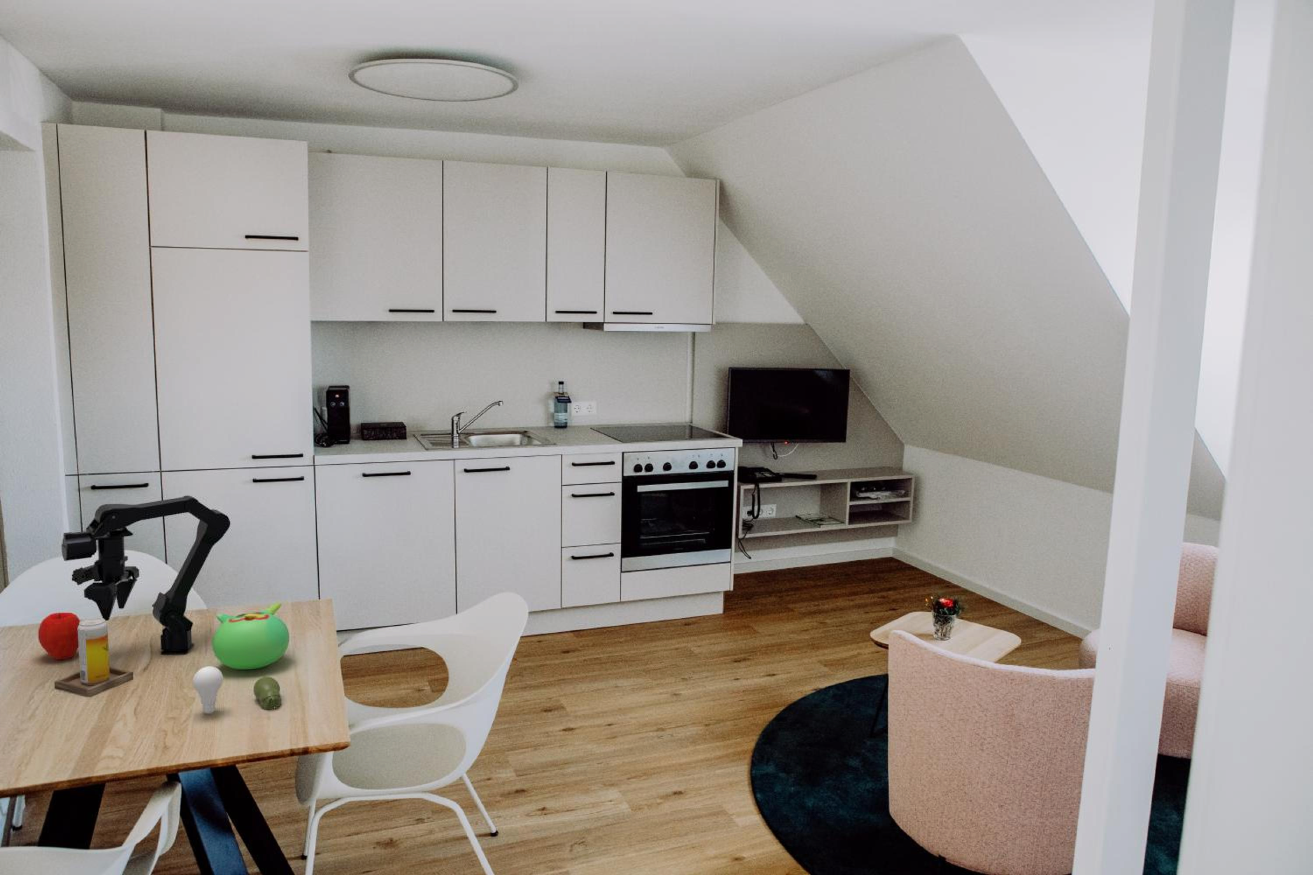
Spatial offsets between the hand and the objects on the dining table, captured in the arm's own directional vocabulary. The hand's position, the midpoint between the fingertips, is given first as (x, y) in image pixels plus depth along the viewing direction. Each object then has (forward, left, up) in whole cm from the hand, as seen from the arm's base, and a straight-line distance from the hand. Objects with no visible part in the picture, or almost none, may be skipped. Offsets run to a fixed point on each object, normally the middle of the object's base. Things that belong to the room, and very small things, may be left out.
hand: (113, 614), depth 234 cm
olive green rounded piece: (-44, +27, -13) cm, 53 cm away
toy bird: (-34, +4, -13) cm, 37 cm away
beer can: (0, +12, -13) cm, 18 cm away
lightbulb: (-32, +32, -13) cm, 47 cm away
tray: (0, +13, -13) cm, 18 cm away
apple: (+15, -5, -13) cm, 21 cm away
